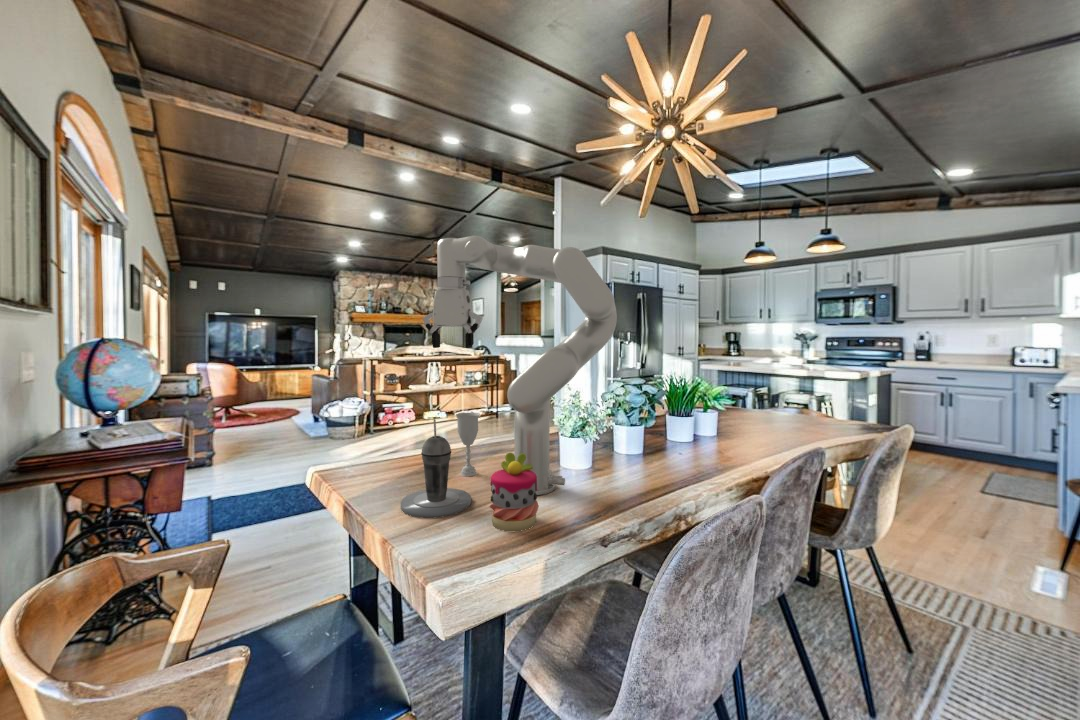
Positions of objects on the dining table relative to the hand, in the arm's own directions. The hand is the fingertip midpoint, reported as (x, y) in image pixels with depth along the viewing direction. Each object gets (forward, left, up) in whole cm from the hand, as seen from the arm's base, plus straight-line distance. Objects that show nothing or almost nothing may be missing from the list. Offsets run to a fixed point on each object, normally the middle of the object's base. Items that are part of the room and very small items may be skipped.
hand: (452, 347), depth 127 cm
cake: (-24, +21, -38) cm, 50 cm away
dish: (-2, +15, -38) cm, 41 cm away
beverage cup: (-2, +15, -37) cm, 40 cm away
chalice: (0, -10, -38) cm, 40 cm away
